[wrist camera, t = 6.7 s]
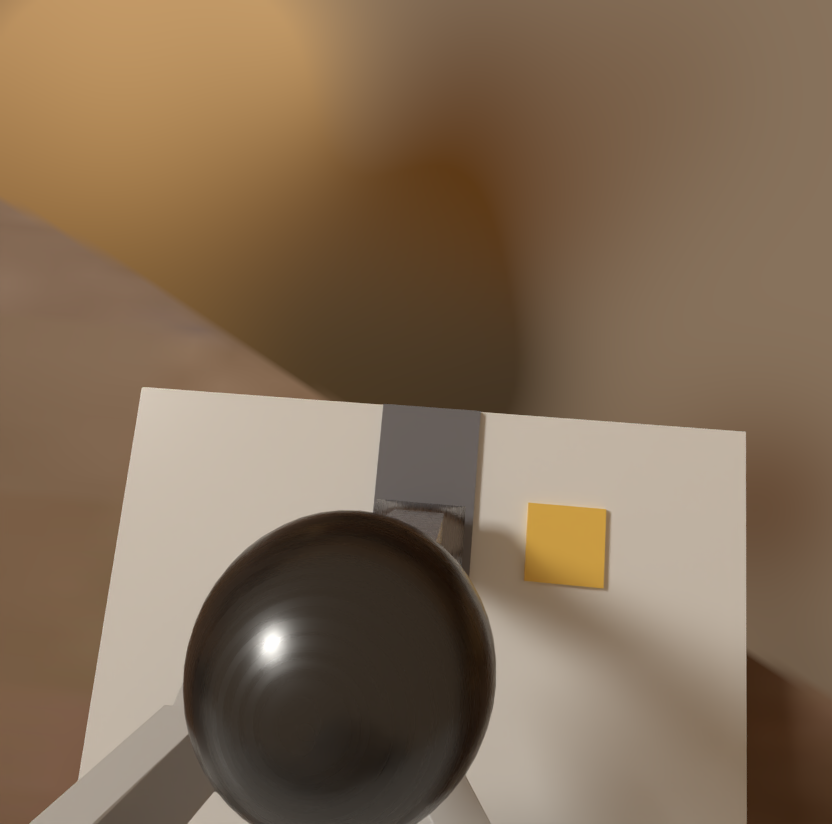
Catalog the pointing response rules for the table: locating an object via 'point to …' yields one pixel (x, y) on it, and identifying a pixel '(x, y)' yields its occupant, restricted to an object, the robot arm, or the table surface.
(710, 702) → the switch panel
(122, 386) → the table surface
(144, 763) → the robot arm
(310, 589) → the toggle lever
